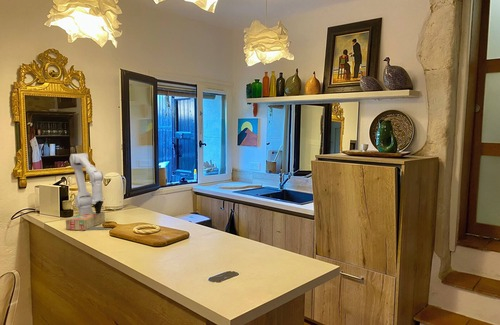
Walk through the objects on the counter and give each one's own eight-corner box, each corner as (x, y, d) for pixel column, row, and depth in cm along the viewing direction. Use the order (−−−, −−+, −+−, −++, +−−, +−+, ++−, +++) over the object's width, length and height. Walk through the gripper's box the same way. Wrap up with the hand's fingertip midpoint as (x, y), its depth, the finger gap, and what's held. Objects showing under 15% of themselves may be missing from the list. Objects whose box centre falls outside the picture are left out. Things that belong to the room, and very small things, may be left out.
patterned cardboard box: (105, 221, 236) (88, 220, 238) (105, 212, 235) (88, 211, 238) (83, 230, 215) (65, 229, 217) (83, 219, 214) (65, 219, 217)
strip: (80, 227, 222) (80, 227, 222) (114, 226, 223) (114, 226, 223) (76, 230, 216) (76, 230, 216) (111, 229, 218) (111, 228, 217)
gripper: (100, 193, 216) (101, 216, 218) (107, 189, 231) (108, 210, 232) (87, 193, 216) (89, 216, 217) (95, 189, 230) (97, 210, 232)
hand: (98, 213), depth 225 cm, fingers closed
